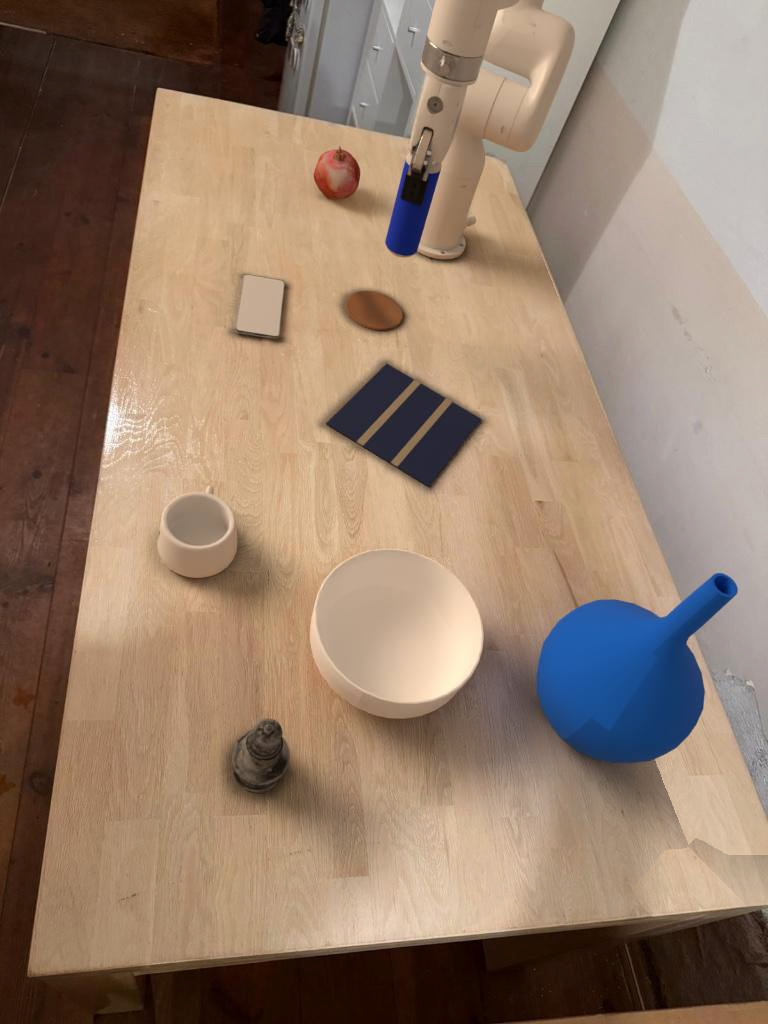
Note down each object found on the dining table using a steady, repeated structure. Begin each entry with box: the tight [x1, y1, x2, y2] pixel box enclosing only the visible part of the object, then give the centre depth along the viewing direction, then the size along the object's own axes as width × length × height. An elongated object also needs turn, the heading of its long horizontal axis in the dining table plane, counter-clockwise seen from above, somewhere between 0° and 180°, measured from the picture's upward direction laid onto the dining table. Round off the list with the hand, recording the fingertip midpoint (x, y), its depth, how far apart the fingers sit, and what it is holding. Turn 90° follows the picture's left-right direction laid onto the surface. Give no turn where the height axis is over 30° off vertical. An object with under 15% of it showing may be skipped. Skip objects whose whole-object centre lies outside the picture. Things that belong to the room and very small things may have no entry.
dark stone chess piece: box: [231, 717, 291, 794], centre depth 74 cm, size 6×6×12 cm
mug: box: [156, 485, 239, 579], centre depth 91 cm, size 12×10×6 cm
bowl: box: [309, 547, 485, 720], centre depth 87 cm, size 20×20×8 cm
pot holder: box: [325, 363, 482, 488], centre depth 114 cm, size 18×18×1 cm
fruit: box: [313, 145, 361, 200], centre depth 145 cm, size 9×10×10 cm
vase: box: [536, 572, 739, 764], centre depth 80 cm, size 18×18×30 cm
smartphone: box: [234, 273, 286, 340], centre depth 122 cm, size 7×1×15 cm
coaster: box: [345, 290, 403, 331], centre depth 129 cm, size 10×10×1 cm
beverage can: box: [384, 151, 441, 259], centre depth 109 cm, size 5×5×15 cm
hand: (416, 190), depth 107 cm, fingers closed on beverage can, 5 cm apart
